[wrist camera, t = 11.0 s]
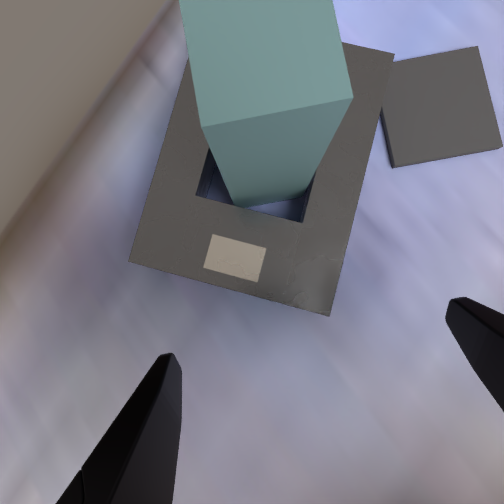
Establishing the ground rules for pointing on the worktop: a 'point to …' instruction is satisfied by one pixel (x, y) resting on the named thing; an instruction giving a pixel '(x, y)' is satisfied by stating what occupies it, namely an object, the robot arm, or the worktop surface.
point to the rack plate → (256, 223)
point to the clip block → (267, 90)
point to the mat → (438, 108)
